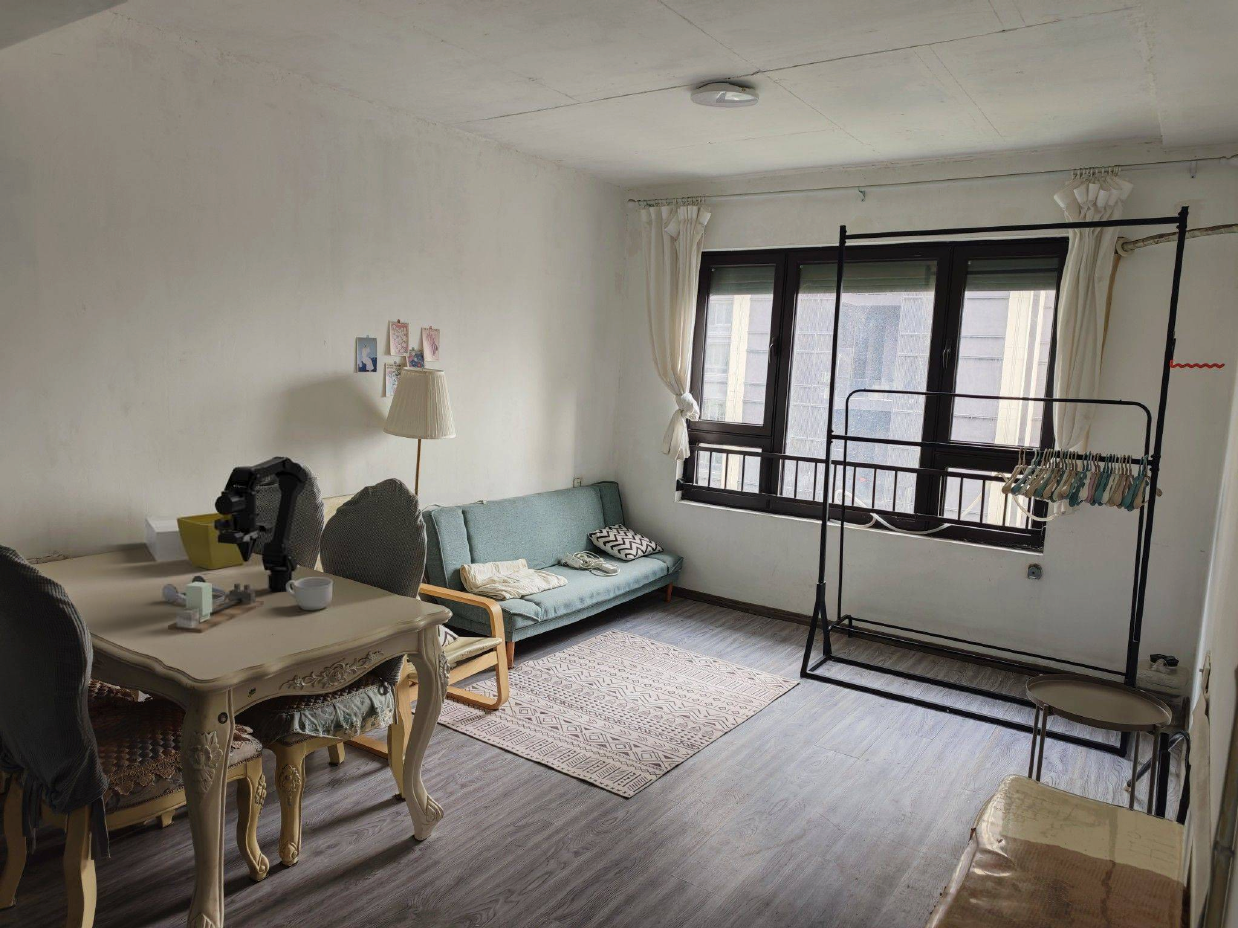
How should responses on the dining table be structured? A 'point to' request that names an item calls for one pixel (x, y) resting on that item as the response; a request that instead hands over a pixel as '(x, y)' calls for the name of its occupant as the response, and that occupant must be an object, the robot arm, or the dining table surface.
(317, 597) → the teacup
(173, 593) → the headphones
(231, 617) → the cord board
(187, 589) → the pale green box
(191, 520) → the flower pot
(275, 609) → the dining table surface
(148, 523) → the white rectangular box
